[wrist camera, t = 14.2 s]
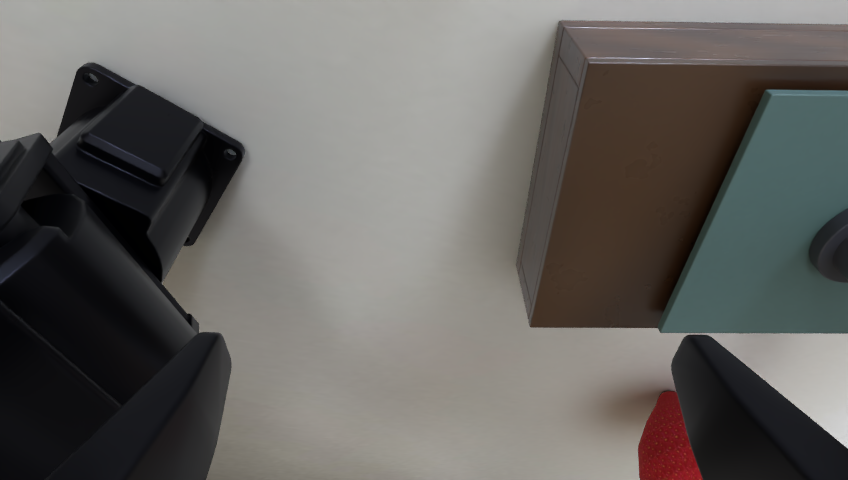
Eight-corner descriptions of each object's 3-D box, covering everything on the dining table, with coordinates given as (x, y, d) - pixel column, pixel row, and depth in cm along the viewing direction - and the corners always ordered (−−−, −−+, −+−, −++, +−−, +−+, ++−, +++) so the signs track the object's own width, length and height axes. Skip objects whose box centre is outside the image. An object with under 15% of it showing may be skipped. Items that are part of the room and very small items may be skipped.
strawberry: (682, 428, 36) (754, 592, 29) (593, 405, 34) (643, 575, 27) (745, 381, 33) (845, 555, 25) (649, 354, 31) (726, 532, 23)
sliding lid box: (515, 264, 26) (529, 327, 23) (558, 20, 19) (588, 62, 15) (974, 267, 27) (1052, 329, 23) (1200, 29, 19) (1361, 72, 16)
